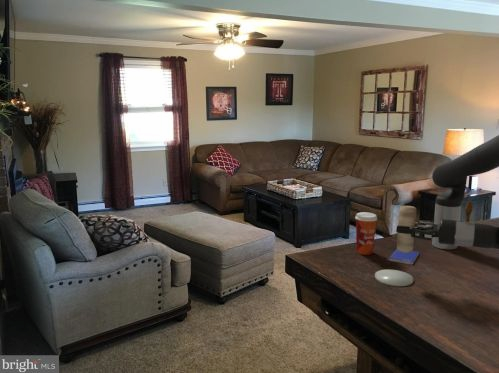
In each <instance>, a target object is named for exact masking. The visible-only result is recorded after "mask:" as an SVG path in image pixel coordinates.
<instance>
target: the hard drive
mask: <svg viewBox="0 0 499 373" xmlns="http://www.w3.org/2000/svg"><path fill="white" fill-rule="evenodd" d="M419 254H420V252H419V251H418V250H417V251H415V250H413V252H410V253H405V252H400V251H398V250H397V248H396V249H395V250H394V252H393V253H392V254H391V255H390V257H389V258H388V261H391V262H395V263H401V264H406V265H413V264H414V263H415V261H416V259H417V258H418V256H419Z"/></svg>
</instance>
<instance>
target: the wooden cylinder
mask: <svg viewBox="0 0 499 373" xmlns="http://www.w3.org/2000/svg"><path fill="white" fill-rule="evenodd" d="M416 216H417V208H416V207H415V206H412V205H400V206H399V209H398V222H397V223H398V224H397V226H398V225H399V226H408V227H409V228H410V227H415V220H417V217H416ZM396 238H397V239H396V249H397V250H398V251H400V252H405V253H410V252H413V251H414V246H415V245H414V243H415V242H414V240H415V238H414V237H411V235H409V234H404V233H397V237H396Z"/></svg>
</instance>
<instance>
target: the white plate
mask: <svg viewBox="0 0 499 373" xmlns="http://www.w3.org/2000/svg"><path fill="white" fill-rule="evenodd" d="M374 278H375V280H377V281H378V282H379V283H381V284H383V285H387V286H391V287H408V286H411V285H412V284H413V283H414V277H413V276H412V275H411V274H409V273H407V272H405V271H402V270H397V269H381V270H377V271H376V272H375V273H374Z"/></svg>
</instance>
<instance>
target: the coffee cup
mask: <svg viewBox="0 0 499 373" xmlns="http://www.w3.org/2000/svg"><path fill="white" fill-rule="evenodd" d="M377 216H378V215H377V214H375V213H372V212H368V211H367V212H366V211H365V212H364V211H363V212H361V211H360V212H358V213H357V212H356V215H355V217H354V218H355V231H356V232H355V235H356V236H355V240H356V241H355V242H356V244H355V245H356V253H357V254H359V255H363V256H365V255H366V256H368V255H372V254H373V251H374V243H375V237H376V236H375V235H376V226H377V221H378V217H377Z"/></svg>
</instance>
